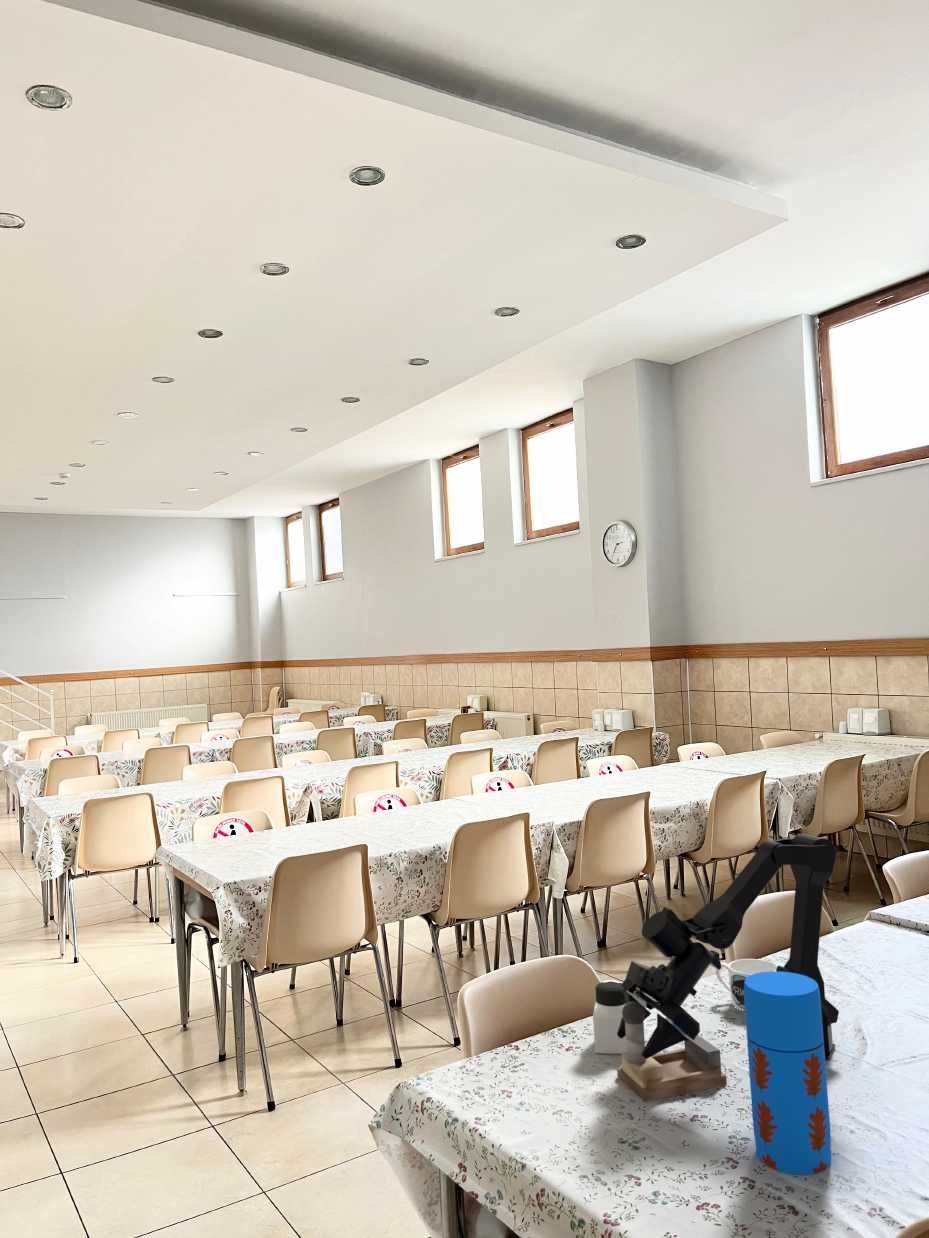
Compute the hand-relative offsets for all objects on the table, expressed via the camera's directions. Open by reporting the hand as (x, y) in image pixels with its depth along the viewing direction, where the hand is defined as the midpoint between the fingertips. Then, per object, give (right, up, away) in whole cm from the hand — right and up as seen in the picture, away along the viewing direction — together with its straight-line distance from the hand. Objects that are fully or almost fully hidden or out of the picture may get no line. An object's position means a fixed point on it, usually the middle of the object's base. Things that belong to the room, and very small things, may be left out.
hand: (630, 1046), depth 158 cm
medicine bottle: (0, -8, +17) cm, 19 cm away
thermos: (+20, -5, -24) cm, 31 cm away
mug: (+32, -8, +35) cm, 48 cm away
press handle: (+2, -6, 0) cm, 6 cm away
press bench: (+6, -7, +2) cm, 10 cm away
